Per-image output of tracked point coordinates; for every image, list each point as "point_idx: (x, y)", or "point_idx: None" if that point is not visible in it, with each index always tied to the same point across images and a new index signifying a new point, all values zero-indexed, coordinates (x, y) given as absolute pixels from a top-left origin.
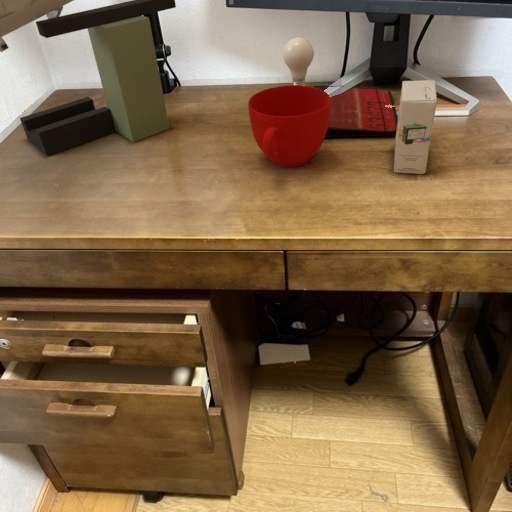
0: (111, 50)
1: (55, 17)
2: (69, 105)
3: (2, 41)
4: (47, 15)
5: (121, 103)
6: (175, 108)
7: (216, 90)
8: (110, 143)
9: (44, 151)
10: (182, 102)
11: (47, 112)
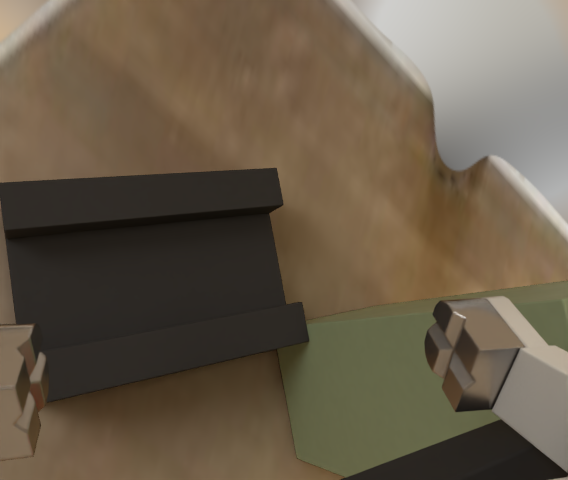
0: None
1: (501, 464)
2: (203, 202)
3: (6, 444)
4: (465, 364)
5: (358, 460)
6: (443, 292)
7: (542, 250)
8: (238, 423)
9: None
10: (465, 265)
11: (115, 209)
